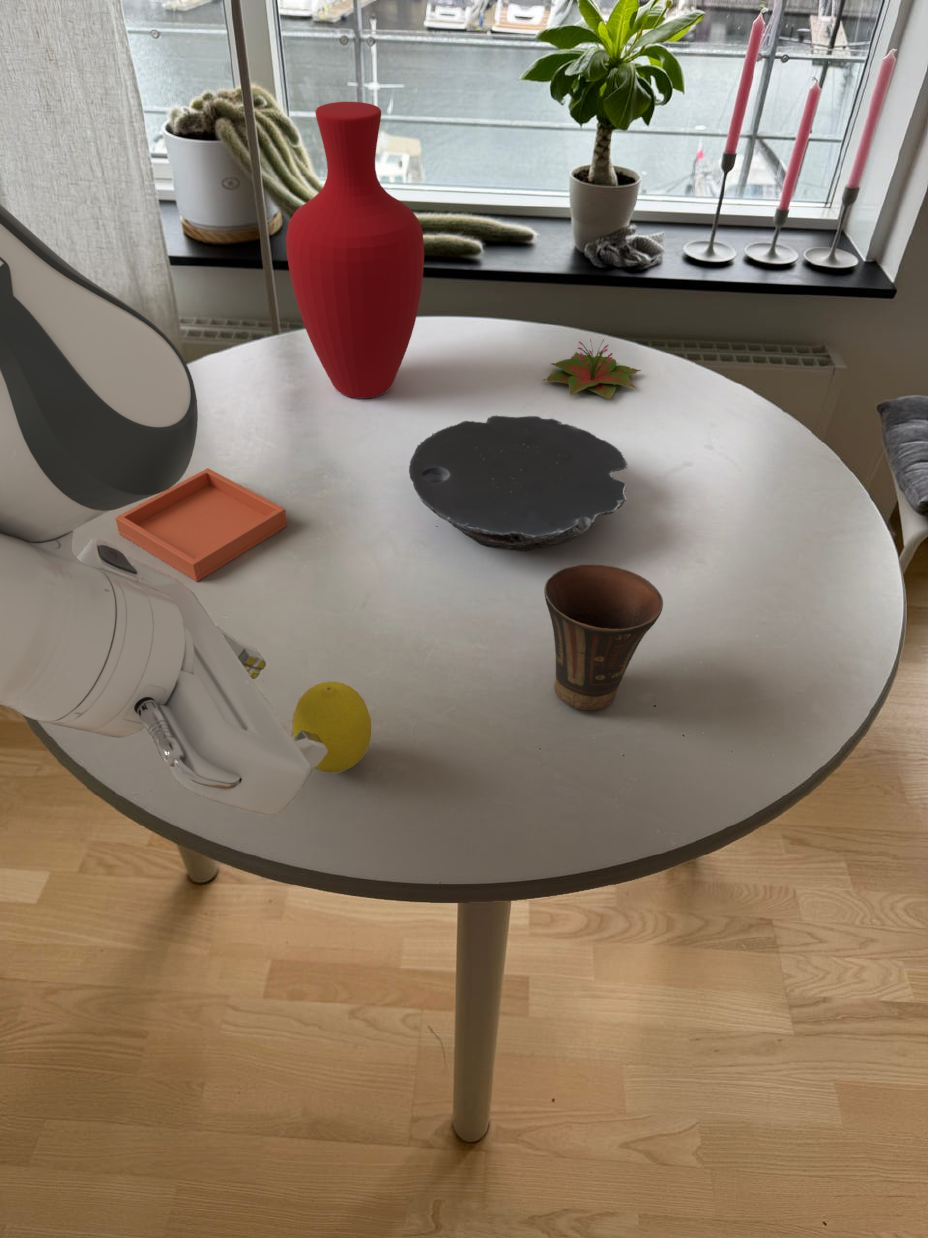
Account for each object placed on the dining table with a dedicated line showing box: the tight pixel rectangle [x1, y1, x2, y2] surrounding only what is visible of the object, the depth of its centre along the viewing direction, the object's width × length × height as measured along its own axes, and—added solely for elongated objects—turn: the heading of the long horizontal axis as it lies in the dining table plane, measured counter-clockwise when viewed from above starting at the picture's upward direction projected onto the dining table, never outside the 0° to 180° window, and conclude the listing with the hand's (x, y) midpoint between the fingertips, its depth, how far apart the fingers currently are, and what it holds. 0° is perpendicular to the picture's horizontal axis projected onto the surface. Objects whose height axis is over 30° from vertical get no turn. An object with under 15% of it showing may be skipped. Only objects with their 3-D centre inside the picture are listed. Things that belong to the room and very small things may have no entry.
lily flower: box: [541, 338, 642, 401], centre depth 115 cm, size 12×12×5 cm
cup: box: [543, 563, 664, 711], centre depth 75 cm, size 9×9×10 cm
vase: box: [285, 101, 425, 399], centre depth 105 cm, size 15×15×30 cm
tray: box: [114, 467, 288, 583], centre depth 92 cm, size 11×11×2 cm
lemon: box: [292, 681, 372, 774], centre depth 68 cm, size 6×6×8 cm
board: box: [408, 414, 629, 552], centre depth 94 cm, size 22×22×5 cm
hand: (286, 707), depth 65 cm, fingers open, 8 cm apart
